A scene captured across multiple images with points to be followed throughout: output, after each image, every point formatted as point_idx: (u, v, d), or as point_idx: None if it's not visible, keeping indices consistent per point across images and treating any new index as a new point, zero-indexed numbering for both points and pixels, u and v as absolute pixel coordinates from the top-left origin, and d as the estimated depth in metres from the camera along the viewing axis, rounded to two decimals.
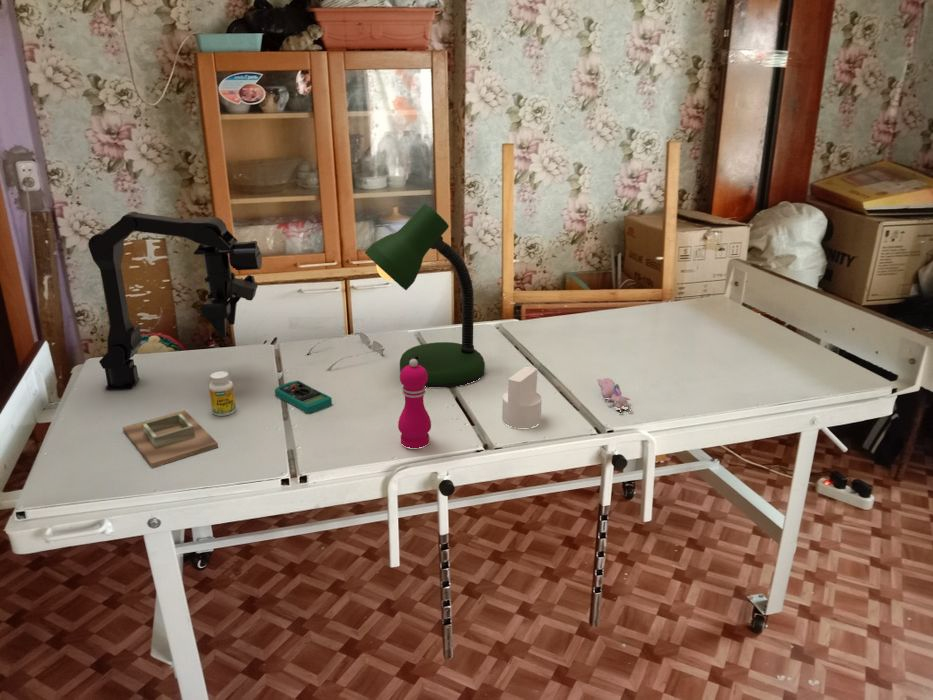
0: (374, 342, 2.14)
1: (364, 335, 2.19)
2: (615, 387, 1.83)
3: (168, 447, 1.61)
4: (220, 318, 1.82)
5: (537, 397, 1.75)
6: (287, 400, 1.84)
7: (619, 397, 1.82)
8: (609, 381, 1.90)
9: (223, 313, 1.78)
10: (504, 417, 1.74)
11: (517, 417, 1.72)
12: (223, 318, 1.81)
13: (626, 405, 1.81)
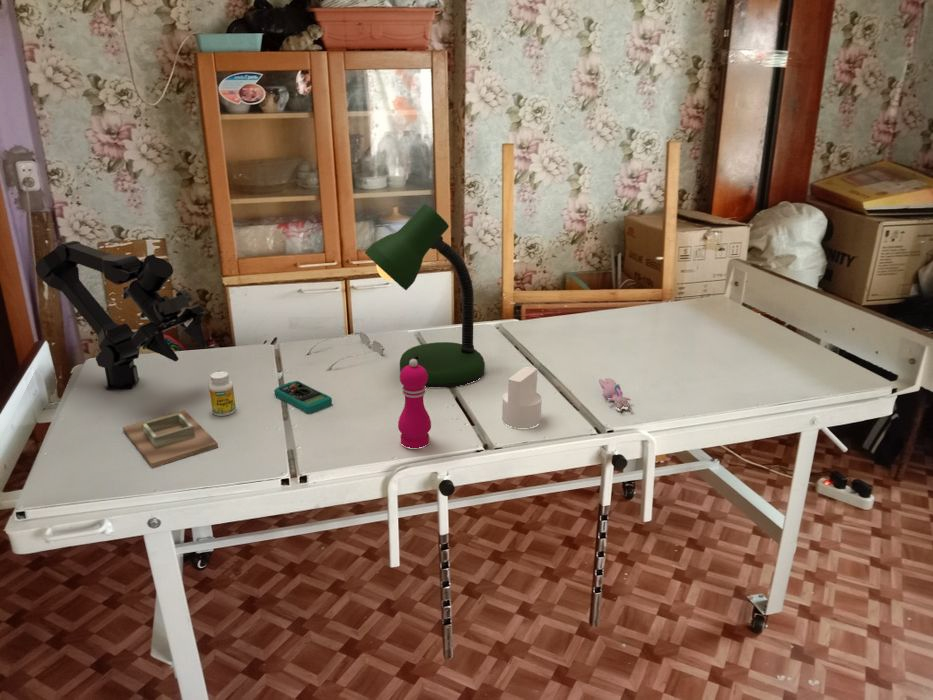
0: (374, 342, 2.14)
1: (364, 335, 2.19)
2: (616, 387, 1.83)
3: (168, 447, 1.61)
4: (159, 343, 1.73)
5: (537, 397, 1.75)
6: (287, 400, 1.84)
7: (620, 397, 1.82)
8: (610, 381, 1.89)
9: (144, 335, 1.69)
10: (504, 417, 1.74)
11: (517, 417, 1.72)
12: (158, 341, 1.72)
13: (627, 405, 1.81)
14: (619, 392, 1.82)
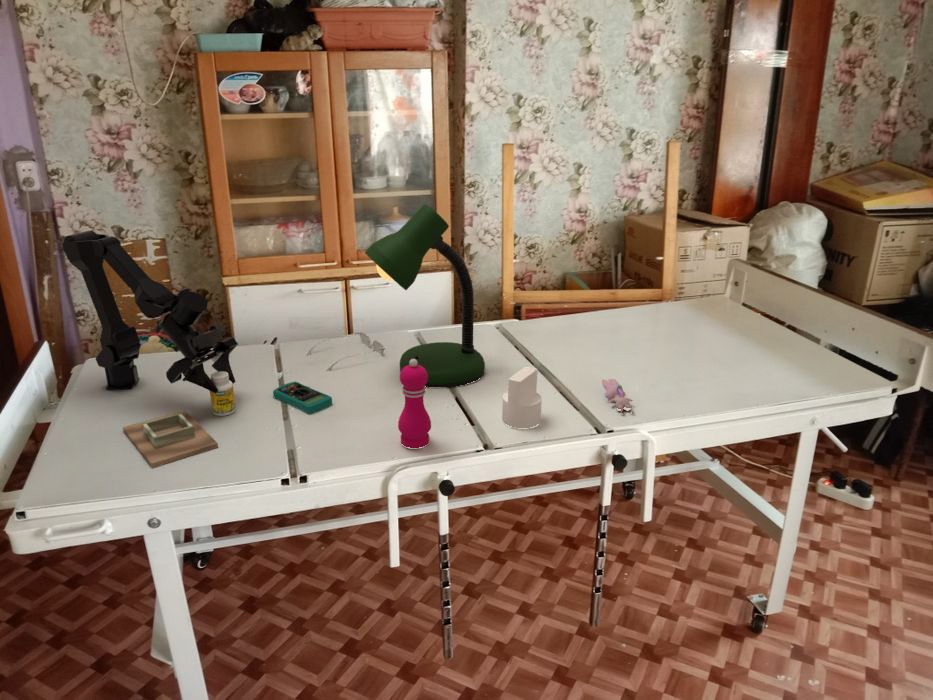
0: (374, 342, 2.14)
1: (364, 335, 2.19)
2: (618, 388, 1.83)
3: (168, 447, 1.61)
4: (199, 374, 1.73)
5: (537, 397, 1.75)
6: (287, 401, 1.83)
7: (621, 398, 1.82)
8: (613, 382, 1.89)
9: (179, 370, 1.68)
10: (504, 417, 1.74)
11: (517, 417, 1.72)
12: (198, 373, 1.72)
13: (628, 406, 1.81)
14: (621, 393, 1.82)
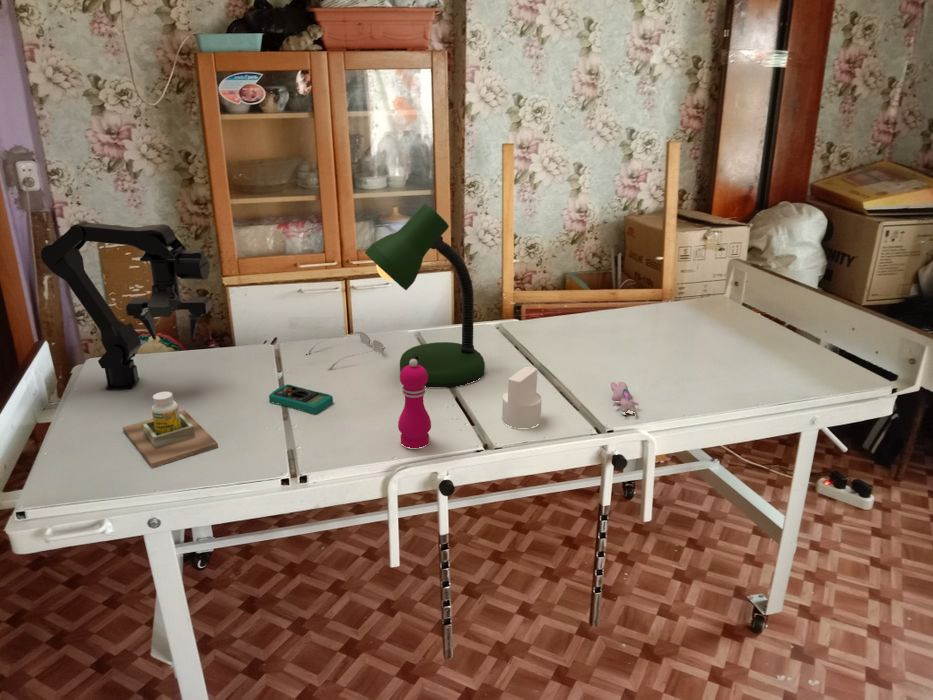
0: (374, 341, 2.15)
1: (364, 334, 2.19)
2: (624, 391, 1.81)
3: (168, 447, 1.61)
4: None
5: (537, 397, 1.75)
6: (286, 404, 1.82)
7: (626, 401, 1.80)
8: (622, 385, 1.88)
9: None
10: (504, 417, 1.74)
11: (517, 417, 1.72)
12: None
13: (632, 410, 1.79)
14: (626, 396, 1.81)
